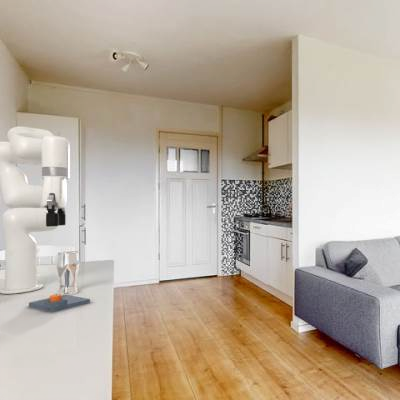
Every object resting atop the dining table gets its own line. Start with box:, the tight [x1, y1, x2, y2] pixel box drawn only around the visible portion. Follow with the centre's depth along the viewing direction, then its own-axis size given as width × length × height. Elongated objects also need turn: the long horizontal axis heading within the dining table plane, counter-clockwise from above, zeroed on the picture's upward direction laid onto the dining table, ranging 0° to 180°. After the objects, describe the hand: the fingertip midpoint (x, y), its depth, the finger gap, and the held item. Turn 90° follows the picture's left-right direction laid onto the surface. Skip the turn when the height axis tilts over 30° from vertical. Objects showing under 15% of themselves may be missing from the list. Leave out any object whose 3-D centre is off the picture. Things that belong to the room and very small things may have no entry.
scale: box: [28, 294, 91, 313], centre depth 110 cm, size 14×12×3 cm
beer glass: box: [55, 250, 80, 295], centre depth 126 cm, size 7×7×15 cm
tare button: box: [49, 293, 62, 302], centre depth 105 cm, size 3×3×2 cm
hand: (56, 225), depth 113 cm, fingers open, 9 cm apart
